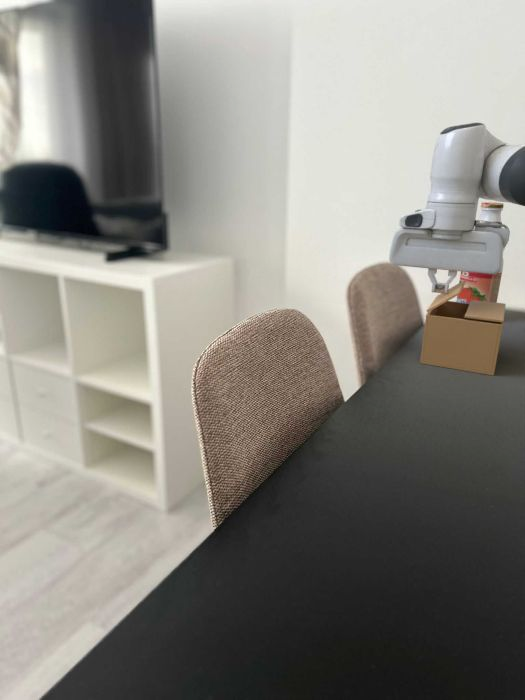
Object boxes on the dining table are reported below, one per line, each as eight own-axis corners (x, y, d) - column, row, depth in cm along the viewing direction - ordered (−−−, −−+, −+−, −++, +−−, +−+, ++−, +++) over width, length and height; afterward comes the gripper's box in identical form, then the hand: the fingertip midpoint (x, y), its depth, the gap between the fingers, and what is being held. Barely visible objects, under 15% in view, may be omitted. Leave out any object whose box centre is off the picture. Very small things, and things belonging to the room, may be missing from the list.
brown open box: (493, 375, 92) (503, 320, 89) (419, 363, 97) (426, 310, 94) (497, 353, 104) (506, 303, 101) (430, 343, 109) (437, 295, 106)
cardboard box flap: (459, 294, 91) (458, 292, 91) (427, 312, 94) (426, 310, 94) (466, 281, 103) (465, 279, 103) (438, 297, 106) (437, 295, 106)
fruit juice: (501, 321, 127) (523, 204, 118) (467, 322, 125) (486, 203, 116) (479, 311, 136) (498, 201, 126) (447, 312, 134) (463, 201, 125)
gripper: (512, 220, 93) (498, 295, 97) (398, 214, 101) (391, 284, 106) (511, 223, 87) (497, 302, 92) (391, 217, 96) (384, 289, 100)
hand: (439, 292), depth 99 cm, fingers closed
